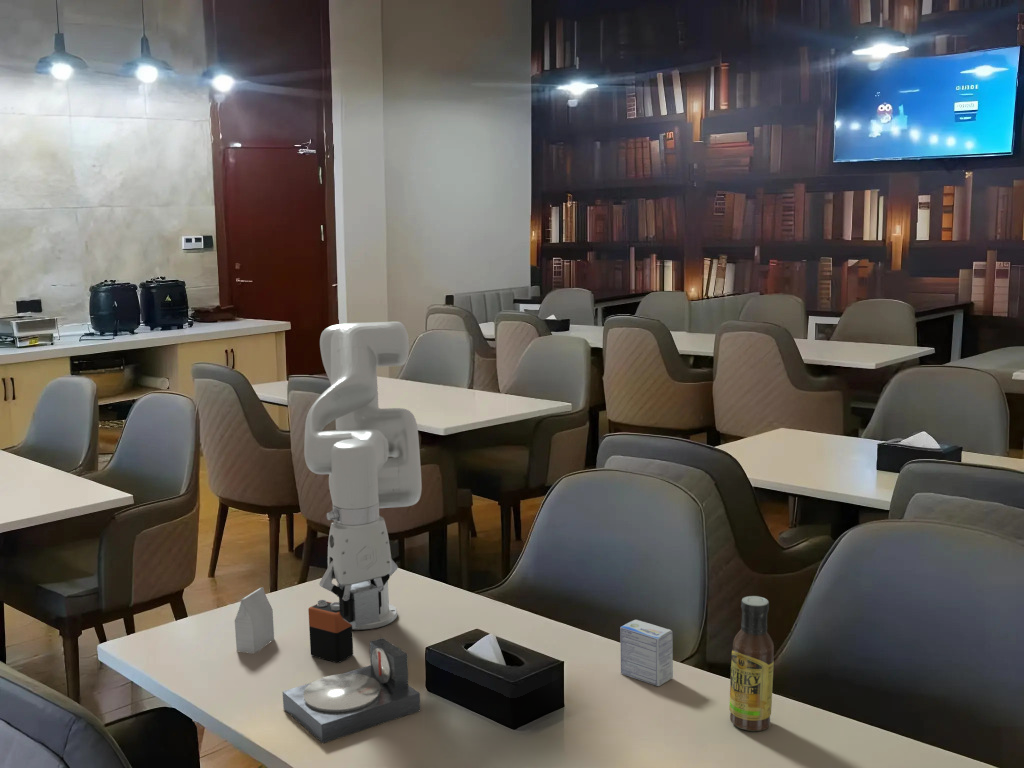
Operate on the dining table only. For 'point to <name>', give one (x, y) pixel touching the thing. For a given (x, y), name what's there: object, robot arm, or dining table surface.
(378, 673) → the dial scale
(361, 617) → the light grey rectangular block
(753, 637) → the sauce bottle
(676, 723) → the dining table surface
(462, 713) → the dining table surface
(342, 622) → the battery
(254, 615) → the grey house-shaped block
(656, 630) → the medicine box
